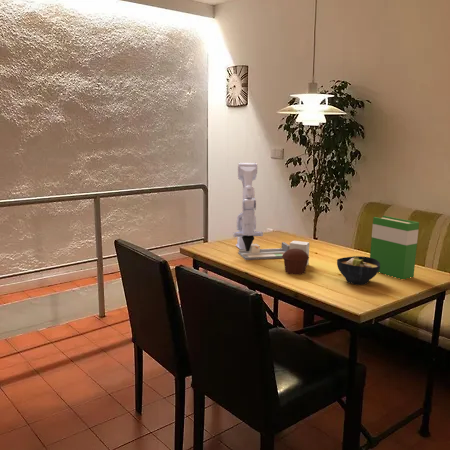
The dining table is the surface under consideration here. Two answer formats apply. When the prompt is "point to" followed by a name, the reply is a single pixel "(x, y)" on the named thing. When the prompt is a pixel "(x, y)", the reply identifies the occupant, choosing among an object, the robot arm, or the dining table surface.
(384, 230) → the hardback book
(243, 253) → the gauge board
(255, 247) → the gauge slider
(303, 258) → the muffin
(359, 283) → the bowl
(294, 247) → the small box
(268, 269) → the dining table surface
